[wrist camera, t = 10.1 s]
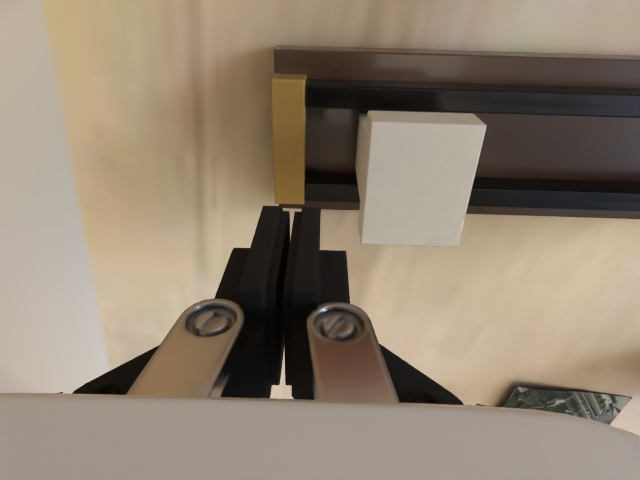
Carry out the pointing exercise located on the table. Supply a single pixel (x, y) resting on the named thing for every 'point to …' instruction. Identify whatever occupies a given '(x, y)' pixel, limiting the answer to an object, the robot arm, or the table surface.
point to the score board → (484, 115)
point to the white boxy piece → (415, 175)
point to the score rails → (302, 93)
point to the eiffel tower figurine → (569, 403)
